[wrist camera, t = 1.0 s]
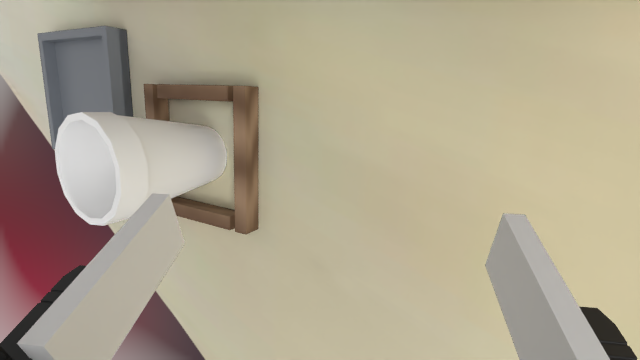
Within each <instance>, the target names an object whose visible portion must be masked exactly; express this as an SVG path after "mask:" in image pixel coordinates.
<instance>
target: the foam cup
mask: <svg viewBox="0 0 640 360" xmlns="http://www.w3.org/2000/svg"><path fill="white" fill-rule="evenodd" d="M55 156H56V166H57V174H58V177H59V180H60V183H61V186H62V189H63V191H64V195H65V197H66V198H67V200H68V201H69V203H70V205H71V206H72V208H73V209H74V211H75V213H76V214H77V215H79V216H80V217H81V218H82V219H84V220H85V221H86V222H88V223H89V224H92V225H107V224H111V223H115V222H118V221H122V220H125V219H129V218H130V217H131V216H132V215H133V214H134V213H135V212H136V211H137V210H138V209H139V207H140V206H141V205H142V204H143V203H144V202H145V201H146V200H147V199H148V197H149V196H150V195H151V194H152V193H155V194H170V197H171V198H174V197H176V196H179V195H181V194H183V193H186V192H188V191H190V190H193V189H195V188H198V187H200V186H202V185H205V184H207V183H210V182H211V181H213V180H216V179H217V178H218V177H220V176H221V175H222V174H223V172H224V169H225V167H226V165H227V151H226V148H225V144H224V141H223V139H222V138H221V136H220V135H219V134H218V133H217V131H216V130H214V129H212V128H210V127H208V126H203V125H196V124H187V123H179V122H171V121H162V120H154V119H146V118H137V117H129V116H121V115H116V114H114V113H112V112H80V113H75V114H71V115H67V117H66V118H65V120H64V121H63V123H62V124H61V126H60V127H59V129H58V134H57V140H56V145H55Z"/></svg>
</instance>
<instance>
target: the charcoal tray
mask: <svg viewBox="0 0 640 360" xmlns="http://www.w3.org/2000/svg"><path fill="white" fill-rule="evenodd" d="M38 41H39V49H40V57H41V65H42V72H43V80H44V88H45V96H46V103H47V111H48V119H49V127H50V134H51V142H52V149H55V145H56V140H57V134H58V129H59V127H60V126H61V124H62V123H63V121H64V120H65V118H66V117H67V115H71V114H75V113H80V112H112V113H114V114H116V115H121V116H129V117H133V111H132V98H131V85H130V72H129V59H128V46H127V32H126V30H123V29H119V28H114V27H109V26H99V27H90V28H82V29H73V30H64V31H55V32H46V33H38Z"/></svg>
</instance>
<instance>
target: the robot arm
mask: <svg viewBox="0 0 640 360" xmlns="http://www.w3.org/2000/svg"><path fill="white" fill-rule="evenodd" d="M184 244H185V241H184V238H183V234H182V231H181V228H180V225H179V222H178V219H177V216H176V213H175V210H174V207H173V204H172V201H171V197H170V194H155V193H152V194H151V195H150V196H149V197H148V199H147V200H146V201H145V202H144V203H143V204H142V205H141V206H140V207H139V209H138V210H137V211H136V212H135V213H134V214H133V215H132V216H131V217H130V219H129V220H128V221H127V222H126V223H125V224H124V225H123V226H122V227H121V229H120V230H119V231H118V232H117V233H116V234H115V235H114V236H113V237H112V238H111V240H110V241H109V242H108V243H107V244H106V245H105V246H104V248H102V250H101V251H100V252H99V253H98V254H97V255H96V256H95V257H94V258H93V260H92V261H91V262H90V263H89V264H88V265H87V266H78V267H77V268H75V269H74V270H72V271H71V272H69V273H68V274H66V275H65V276H63V278H62V279H61V280H60V281H59V282H58V283H57V284H56V285H55V286H54V287H53V288H52V290H51V292H48V293H47V294H46V296H45V297H44V298H43V299H42V300H41V303H38V304H37V305H36V306H35V307H34V308H33V309H32V310H31V311H30V312H29V314H28V315H27V316H26V317H25V318H24V319H23V320H22V321H21V322H20V323H19V324H18V325H17V326H16V327H15V328H14V329H13V331H12V332H11V333H10V334H9V335H8V336H7V337H6V338H5V339H4V340H3V341H2V342H1V343H0V360H111V359H112V358H113V356H114V355H115V353H116V352H117V350H118V348H119V347H120V345H121V344H122V342H123V341H124V339H125V337H126V336H127V334H128V333H129V331H130V330H131V328H132V326H133V325H134V323H135V322H136V320H137V319H138V317H139V315H140V314H141V312H142V311H143V309H144V307H145V306H146V304H147V303H148V301H149V300H150V298H151V296H152V295H153V293H154V292H155V290H156V289H157V287H158V285H159V284H160V282H161V281H162V279H163V278H164V276H165V274H166V273H167V271H168V270H169V268H170V267H171V265H172V263H173V262H174V260H175V259H176V257H177V255H178V254H179V252H180V251H181V249H182V248H183V246H184ZM485 266H486V269H487V272H488V274H489V277H490V280H491V283H492V285H493V288H494V291H495V294H496V296H497V299H498V302H499V305H500V307H501V310H502V313H503V316H504V318H505V321H506V324H507V327H508V329H509V332H510V335H511V337H512V340H513V343H514V346H515V348H516V351H517V354H518V357H519V359H520V360H637V357H636V355H635V354H634V352H633V351H632V349H631V348H630V346H627V342H626V340H625V339H624V337H623V336H622V334H621V333H620V331H619V330H618V328H617V326H616V325H615V324H614V323H613V322H612V321H611V320H610V319H609V318H608V317H606V316H605V315H604V314H603V313H602V312H601V311H600V310H599V309H598V308H589V307H579V306H578V304H577V302H576V301H575V299H574V297H573V296H572V294H571V292H570V290H569V289H568V287H567V285H566V284H565V282H564V280H563V278H562V277H561V275H560V273H559V272H558V270H557V268H556V267H555V265H554V263H553V261H552V260H551V258H550V256H549V255H548V253H547V251H546V249H545V248H544V246H543V244H542V243H541V241H540V239H539V237H538V236H537V234H536V232H535V231H534V229H533V227H532V226H531V224H530V222H529V220H528V219H527V217H526V215H523V214H505V213H503V215H502V218H501V221H500V224H499V227H498V230H497V233H496V236H495V238H494V241H493V244H492V247H491V250H490V253H489V256H488V259H487V261H486V264H485Z"/></svg>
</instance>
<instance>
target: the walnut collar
mask: <svg viewBox="0 0 640 360" xmlns="http://www.w3.org/2000/svg"><path fill="white" fill-rule="evenodd" d="M144 95H145V110H146V119H154V120H162V121H169V105H168V99H189V100H211V101H233V122H234V194H235V210H231V209H227V208H223V207H219V206H214V205H210V204H206V203H202V202H197V201H193V200H189V199H185V198H180V197H175V198H171V201H172V204H173V207H174V210H175V213H176V216H180V217H184V218H187V219H191V220H195V221H198V222H202V223H206V224H209V225H213V226H217V227H220V228H224V229H228V230H231V229H233V228H235V232H239V233H242V234H248V233H250V232H252V231H255V230H257V229H258V87H252V86H225V85H166V84H157V85H155V84H144Z"/></svg>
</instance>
